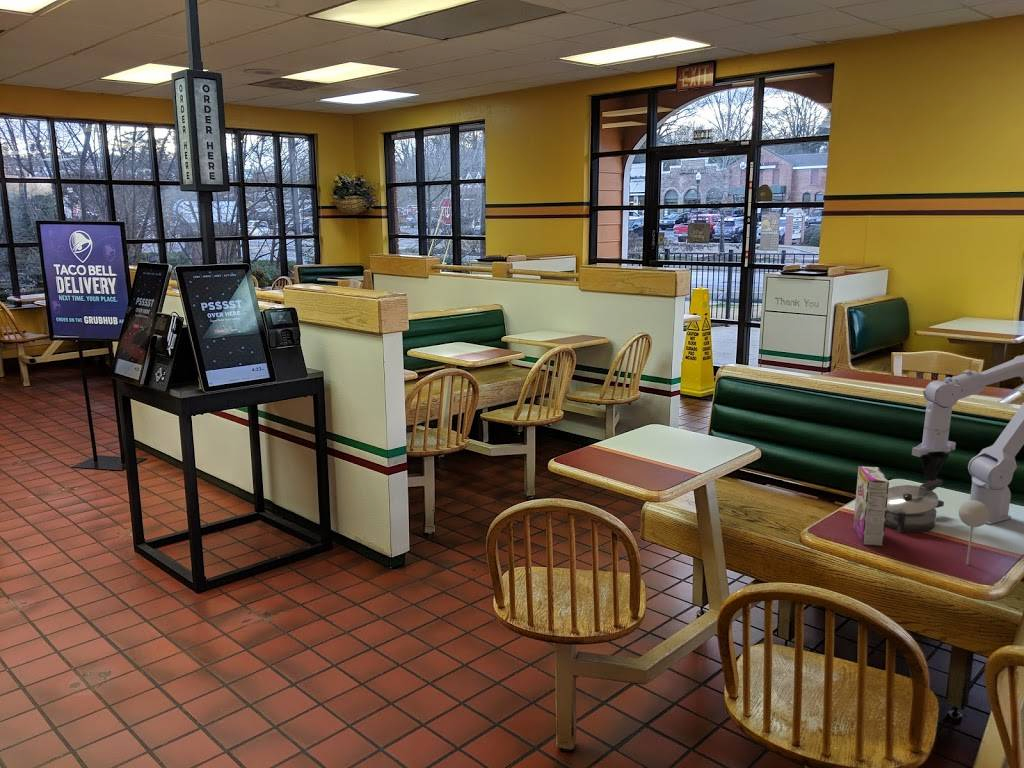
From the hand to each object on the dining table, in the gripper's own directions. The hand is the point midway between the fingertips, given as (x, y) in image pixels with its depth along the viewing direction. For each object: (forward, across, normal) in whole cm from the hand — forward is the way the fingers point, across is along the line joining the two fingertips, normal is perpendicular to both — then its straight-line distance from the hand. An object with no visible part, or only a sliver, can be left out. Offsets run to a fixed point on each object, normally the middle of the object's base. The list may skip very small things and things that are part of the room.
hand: (930, 479), depth 206 cm
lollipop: (+11, -17, -23) cm, 30 cm away
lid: (+4, -5, 0) cm, 6 cm away
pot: (+10, -5, 0) cm, 11 cm away
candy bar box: (+11, -24, -2) cm, 27 cm away
